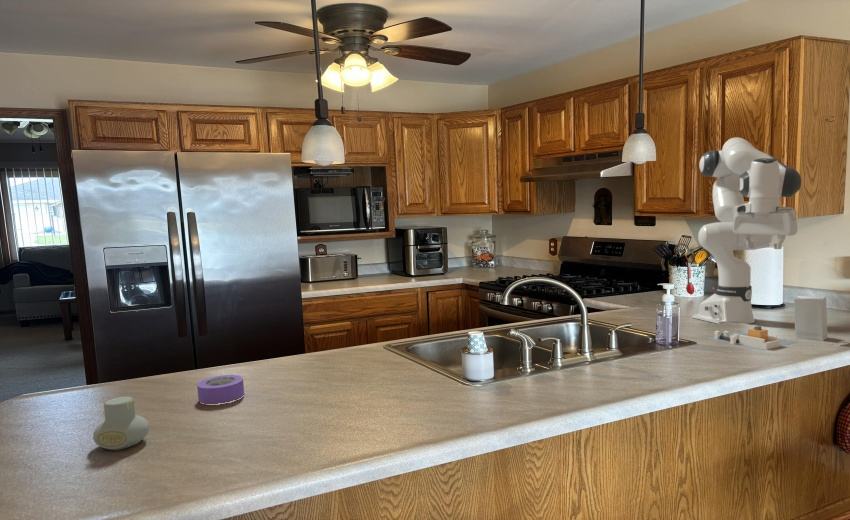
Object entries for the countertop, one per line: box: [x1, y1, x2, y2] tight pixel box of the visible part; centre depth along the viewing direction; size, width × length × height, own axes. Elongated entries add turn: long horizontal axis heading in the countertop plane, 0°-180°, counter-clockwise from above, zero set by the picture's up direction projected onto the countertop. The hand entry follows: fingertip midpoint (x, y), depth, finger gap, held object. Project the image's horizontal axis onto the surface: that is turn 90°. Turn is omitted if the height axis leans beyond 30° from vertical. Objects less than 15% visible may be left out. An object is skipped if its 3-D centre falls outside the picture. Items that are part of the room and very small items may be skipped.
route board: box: [706, 330, 798, 351], centre depth 193 cm, size 20×18×4 cm
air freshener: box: [92, 396, 150, 451], centre depth 127 cm, size 11×8×10 cm
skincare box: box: [793, 295, 828, 342], centre depth 193 cm, size 8×6×15 cm
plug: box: [747, 325, 769, 342], centre depth 187 cm, size 4×4×6 cm
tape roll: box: [196, 374, 245, 404], centre depth 157 cm, size 12×12×5 cm
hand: (763, 248), depth 195 cm, fingers open, 8 cm apart
